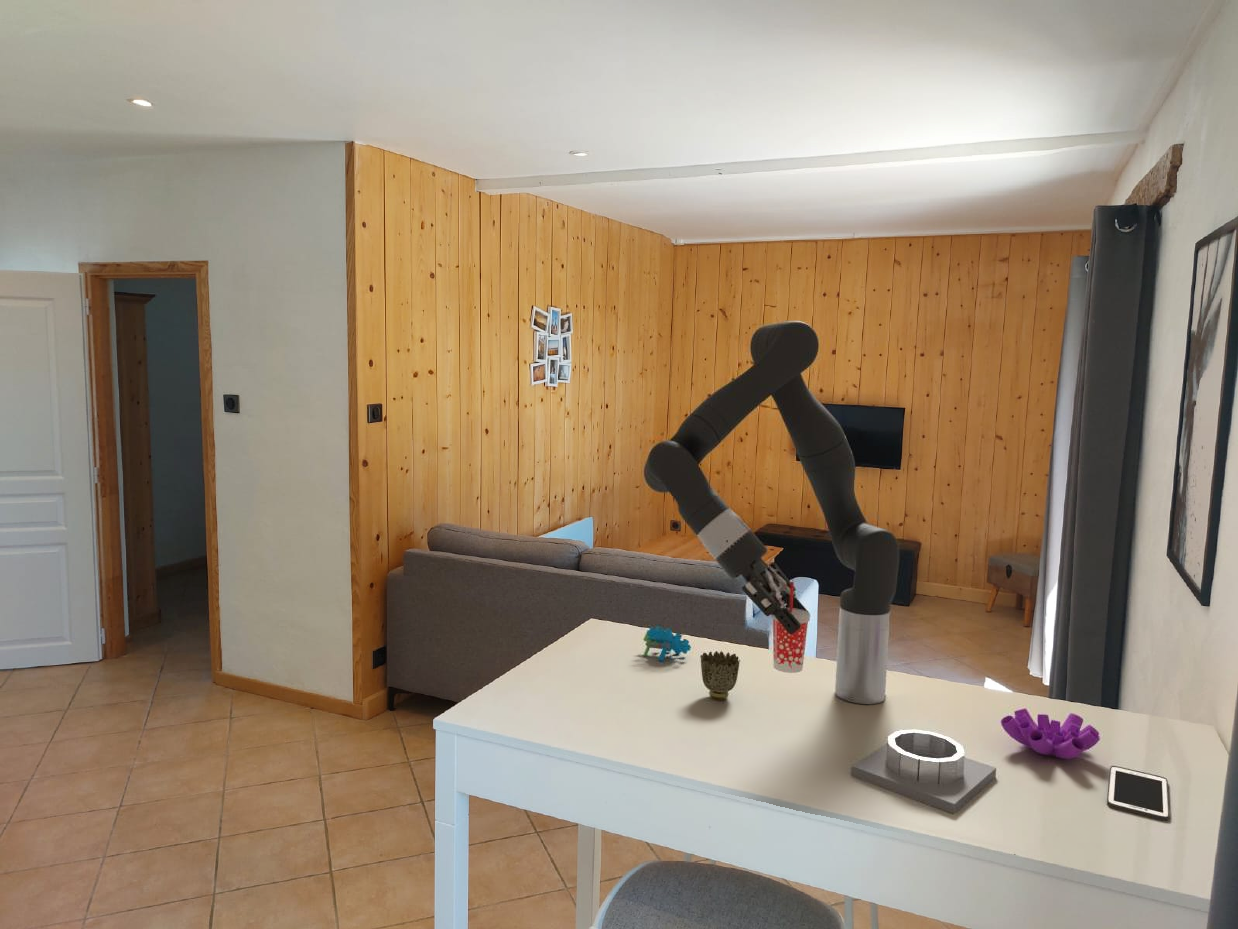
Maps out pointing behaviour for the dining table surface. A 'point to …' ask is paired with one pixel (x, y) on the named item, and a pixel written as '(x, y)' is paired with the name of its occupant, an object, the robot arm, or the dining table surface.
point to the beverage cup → (790, 641)
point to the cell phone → (1138, 793)
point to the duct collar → (924, 768)
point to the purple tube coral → (1051, 734)
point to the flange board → (931, 794)
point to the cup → (719, 673)
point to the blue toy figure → (665, 642)
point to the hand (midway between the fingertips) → (800, 624)
